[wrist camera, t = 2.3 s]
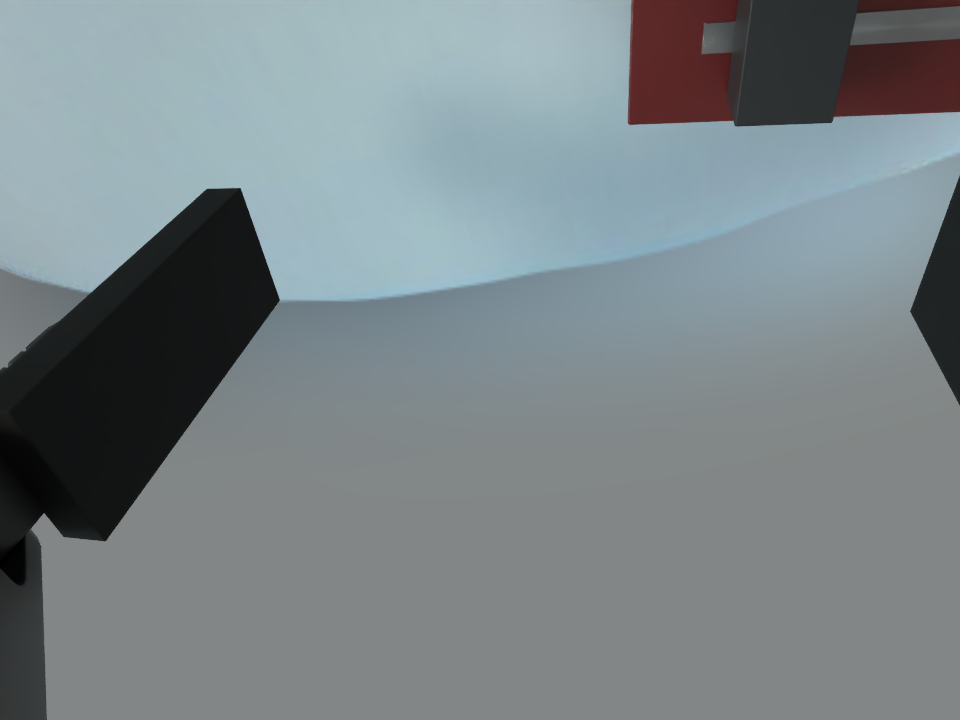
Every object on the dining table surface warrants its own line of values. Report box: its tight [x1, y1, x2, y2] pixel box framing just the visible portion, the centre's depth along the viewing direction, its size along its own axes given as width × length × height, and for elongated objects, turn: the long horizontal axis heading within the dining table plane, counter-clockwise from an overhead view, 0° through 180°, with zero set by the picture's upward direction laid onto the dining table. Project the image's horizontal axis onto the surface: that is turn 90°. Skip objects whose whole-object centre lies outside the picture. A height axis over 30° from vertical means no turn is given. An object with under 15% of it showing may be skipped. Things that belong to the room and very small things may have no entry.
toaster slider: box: [727, 0, 860, 126], centre depth 22 cm, size 3×4×3 cm
